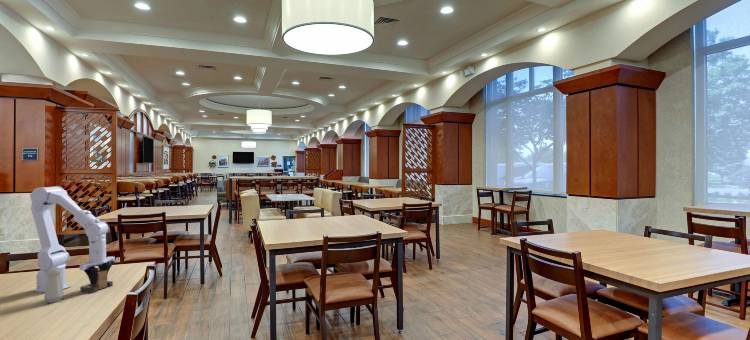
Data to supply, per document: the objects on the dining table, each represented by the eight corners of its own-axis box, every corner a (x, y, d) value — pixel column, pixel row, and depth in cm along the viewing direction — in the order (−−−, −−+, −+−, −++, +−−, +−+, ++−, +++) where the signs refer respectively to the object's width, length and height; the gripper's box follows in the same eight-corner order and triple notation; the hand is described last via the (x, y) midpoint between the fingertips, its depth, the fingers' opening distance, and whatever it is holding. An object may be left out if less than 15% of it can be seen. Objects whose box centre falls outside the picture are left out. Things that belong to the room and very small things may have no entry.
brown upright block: (90, 288, 155) (90, 272, 155) (99, 285, 159) (99, 269, 159) (98, 289, 154) (98, 273, 154) (107, 286, 158) (107, 270, 158)
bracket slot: (80, 291, 153) (80, 286, 153) (99, 284, 161) (99, 280, 161) (94, 292, 152) (94, 287, 152) (112, 285, 160) (112, 281, 160)
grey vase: (52, 304, 139) (51, 270, 139) (40, 303, 140) (39, 269, 140) (67, 298, 145) (67, 266, 144) (56, 297, 146) (55, 265, 146)
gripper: (89, 255, 148) (90, 288, 148) (120, 247, 162) (121, 277, 163) (75, 254, 150) (75, 287, 150) (107, 246, 164) (107, 276, 164)
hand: (98, 282), depth 156 cm, fingers closed on brown upright block, 4 cm apart
